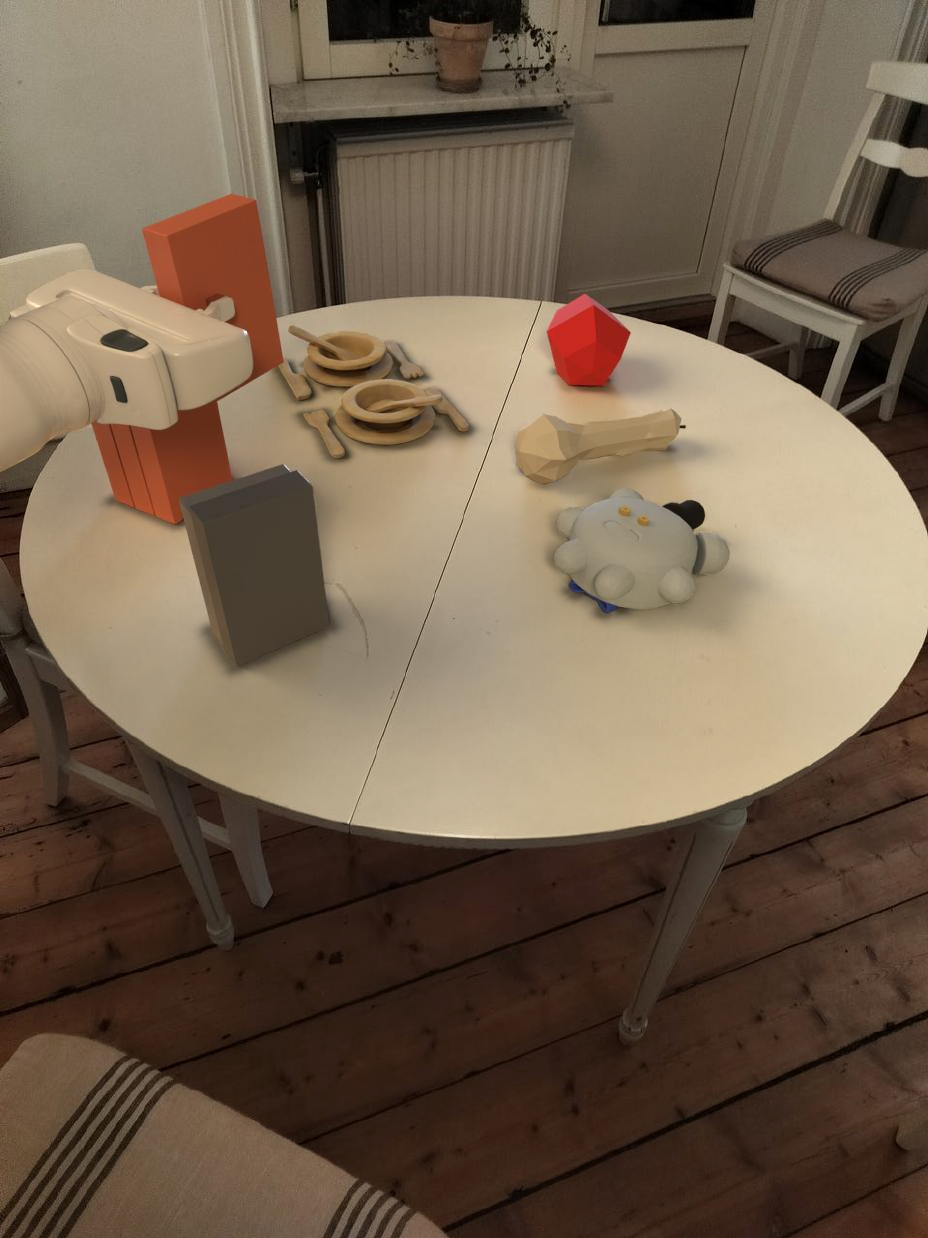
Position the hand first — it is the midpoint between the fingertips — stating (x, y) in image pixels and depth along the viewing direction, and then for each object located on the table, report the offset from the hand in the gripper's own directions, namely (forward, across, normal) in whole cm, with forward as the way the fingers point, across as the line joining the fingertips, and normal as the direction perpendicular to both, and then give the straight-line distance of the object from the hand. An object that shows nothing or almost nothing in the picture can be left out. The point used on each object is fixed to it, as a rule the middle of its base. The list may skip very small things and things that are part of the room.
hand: (210, 296), depth 73 cm
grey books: (-9, +11, -28) cm, 31 cm away
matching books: (+2, -15, -29) cm, 32 cm away
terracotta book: (+1, 0, -8) cm, 8 cm away
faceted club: (+37, +25, -29) cm, 53 cm away
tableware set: (+34, -11, -30) cm, 46 cm away
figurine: (+20, +37, -28) cm, 51 cm away
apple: (+57, +11, -30) cm, 66 cm away
